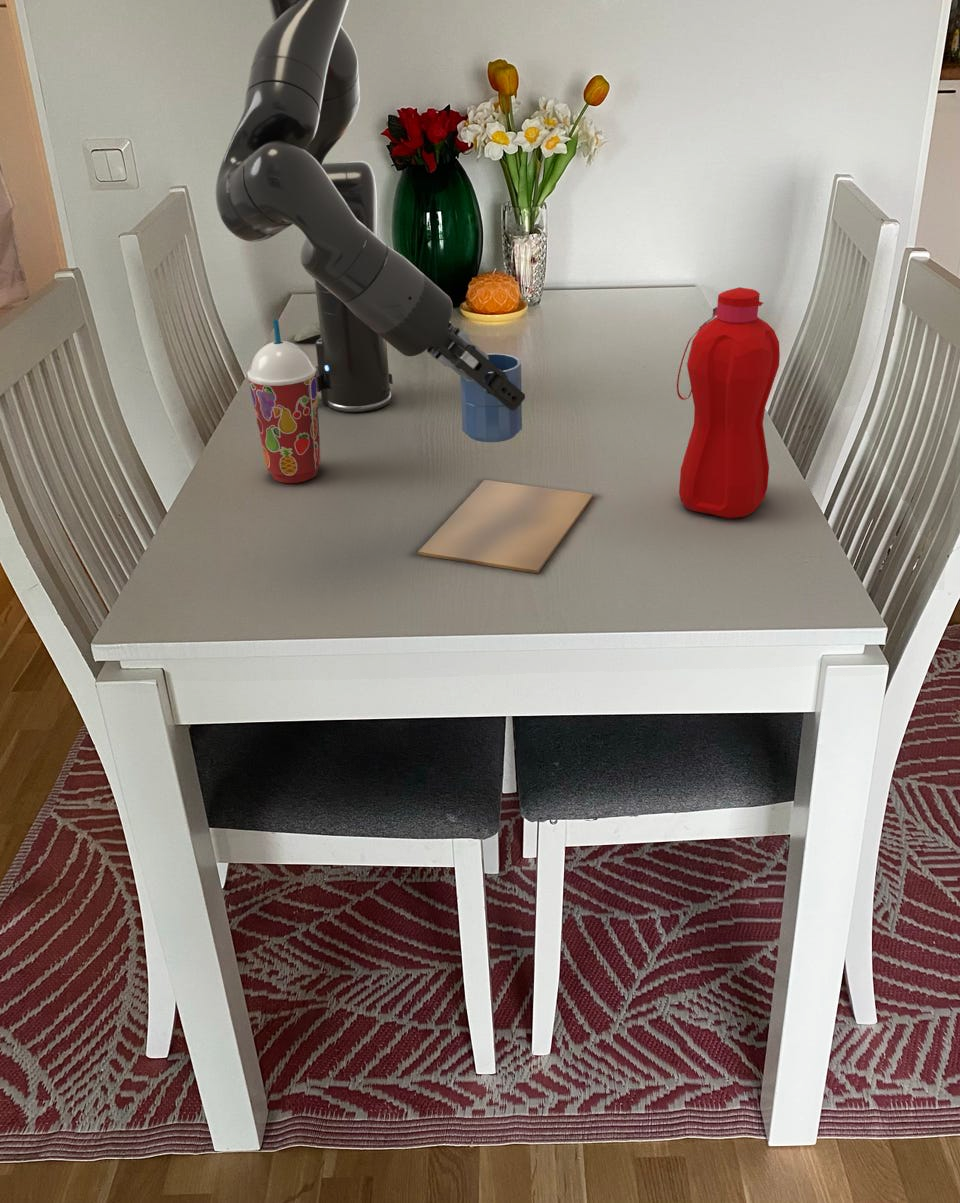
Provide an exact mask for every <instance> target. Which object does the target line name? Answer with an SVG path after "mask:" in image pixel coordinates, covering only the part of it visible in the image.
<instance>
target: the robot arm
mask: <svg viewBox="0 0 960 1203" xmlns="http://www.w3.org/2000/svg"><path fill="white" fill-rule="evenodd" d="M349 2H350V0H268V4H269V9H270V14H271V20H272V24H271V25H270V26H269V27H268V28H267V30H266V31H265V33H264V34H263V35H262V37H261V39H260V41H259V42H258V45H257V46H256V48H255V51H254V54H253V57H252V61H251V66H250V72H249V76H248V81H247V87H246V93H245V97H244V106H243V112H242V114H241V117H240V119H239V121H238V122H237V123H238V124H237V126H236V128H235V130H234V132H233V133H232V136H231V139H230V142H229V144H228V146H227V149H226V152H225V154H224V157H223V159H222V161H221V164H220V166H219V170H218V174H217V178H216V183H215V202H216V207H217V208H216V209H217V211H218V215H219V217H220V219H221V221H222V223H223V225H224V226H225V228H226V229H227V230H228V231H229V232H230V233H231V234H233V235H234V236H235V237H236V238H239V239H240V240H243V241H246V242H253V243H255V242H262V241H265V240H268V239H271V238H272V237H275V236H276V235H278V234H279V233H281V232H283V231H284V230H287V229H288V228H289V227H291V226H293V225H294V226H296V227H297V228H298V229H299V230H300V231H301V232H302V233H303V235H304V236H305V239H304V241H303V244H302V246H301V249H300V254H299V255H300V256H299V257H300V263H301V265H302V267H303V269H304V270H305V271H306V273H307V274H309V276H310V277H312V278H313V279H314V286H315V297H316V306H317V313H318V322H319V324H320V338H318V339H317V340H316V341H315V350H316V351H315V352H316V361H317V365H315V366H316V368H317V372H316V376H317V393H320V397H321V404H322V406H328V407H329V408H331V409H332V410H335V411H339V412H344V413H362V412H363V413H364V412H369V411H375V410H378V409H380V408H383V407H385V406H387V405H389V404H390V402H392V392H391V385H393V384H394V383H393V374H391V373H390V371H389V357H388V344H390V345H391V347H393V348H394V349H395V350H397V351H398V352H399V353H400V354H402V355H403V356H406V357H416V356H419V355H421V354H423V353H424V352H426V353H428V354H429V355H430V356H431V357H432V358H434V359H435V360H436V361H438V362H439V363H440V364H442V366H444V367H447V368H450V369H451V370H453V371H454V372H455V373H456V374H457V375H459V376H461V377H462V378H464V379H465V380H466V381H475V382H476V383H477V384H479V385H480V386H481V387H482V388H484V389H483V390H484V391H485V392H486V393H488V394H489V395H490V394H491V395H493V396H495V397H496V398H497V399H498V400H499V401H501V402H502V403H503V404H504V405H505V406H506V407H508V408H509V409H510V410H512V411H514V410H516V409H517V408H518V407H519V405H520V404H521V403H523V401H524V400H525V399H526V394H525V392H523V391H522V390H521V391H520V390H519V389H518V388H517V387H516V386H515V385H513V384H512V383H511V382H510V381H509V380H508V379H507V376H506V375H505V374H506V373H505V372H503V371H501V370H500V369H498V368H497V367H496V366H495V365H494V364H492V363H491V362H490V361H489V360H488V359H489V357H488V355H487V354H488V353H486V352H485V351H484V350H483V349H481V348H480V347H479V346H478V345H476V343H474V342H473V341H472V340H471V339H470V337H469V335H468V334H467V333H466V332H465V331H463V329H461V328H460V327H458V326H456V325H455V324H453V323H452V322H451V321H450V320H451V318H452V315H453V309H454V307H453V306H454V305H453V301H452V299H451V297H450V296H449V295H448V294H446V293H445V291H443V290H442V289H441V288H440V287H439V286H438V285H437V284H435V283H434V282H433V281H432V280H431V279H430V278H429V277H427V276H426V275H425V274H424V273H423V272H422V271H420V269H418V268H417V266H415V265H414V264H413V263H412V262H411V261H409V260H408V259H407V258H406V257H405V256H404V255H403V254H400V253H399V252H398V251H396V250H395V249H393V248H392V247H391V246H389V245H388V244H386V243H385V242H384V240H382V239H381V238H380V237H379V230H378V229H379V227H378V226H379V225H378V222H379V221H378V193H377V191H378V190H377V182H376V177H375V172H374V170H373V168H372V166H371V165H370V164H369V163H368V162H367V161H364V160H347V161H346V160H345V161H328V162H324V160H325V158H326V157H327V155H328V154H329V152H330V151H331V150H332V148H334V147H335V145H336V144H337V143H338V142H339V140H340V139H341V138H342V137H343V135H344V134H345V132H346V131H347V130H348V128H350V126H351V124H352V123H353V121H354V119H355V117H356V116H357V113H358V110H359V107H360V102H361V88H360V72H359V58H358V54H357V51H356V48H355V46H354V44H353V41H352V40H351V38H350V37H349V35H348V33H347V32H346V30H345V29H344V27H343V26H342V23H343V20H344V17H345V14H346V11H347V8H348V5H349ZM462 370H463V371H464V372H463V371H462ZM490 370H491V371H493V372H492V374H491V375H490V376H489V378H488V379H487V380H486V381H485V383H484V381H483V379H484V377H485V376H486V375H487V374H488V372H489V371H490ZM461 377H460V378H461Z"/></svg>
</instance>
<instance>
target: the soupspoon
mask: <svg viewBox="0 0 960 1203" xmlns="http://www.w3.org/2000/svg"><path fill="white" fill-rule="evenodd" d="M316 336H321V334H320V324H319V321H314V322H311V323H308V324H306V325H305V326H303V327H302V328H301V329H299V331H298V332H297V333H296V334H295V335H294V338H293V341H294V342H302V341H304V340H308V339H310V338H312V337H313V338H314V337H316Z"/></svg>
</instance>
